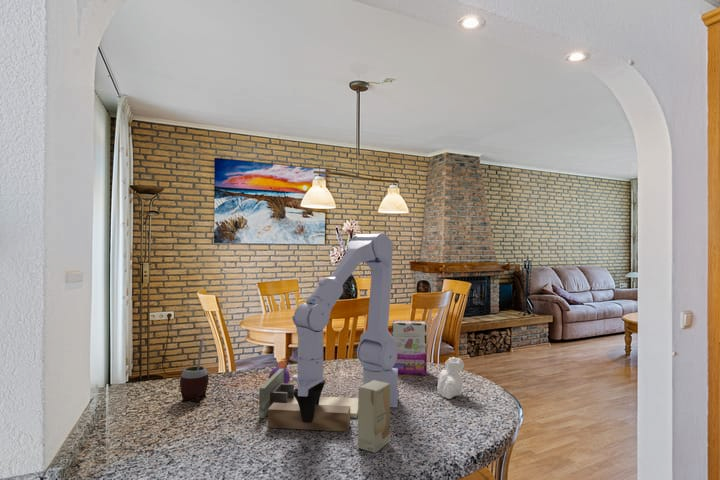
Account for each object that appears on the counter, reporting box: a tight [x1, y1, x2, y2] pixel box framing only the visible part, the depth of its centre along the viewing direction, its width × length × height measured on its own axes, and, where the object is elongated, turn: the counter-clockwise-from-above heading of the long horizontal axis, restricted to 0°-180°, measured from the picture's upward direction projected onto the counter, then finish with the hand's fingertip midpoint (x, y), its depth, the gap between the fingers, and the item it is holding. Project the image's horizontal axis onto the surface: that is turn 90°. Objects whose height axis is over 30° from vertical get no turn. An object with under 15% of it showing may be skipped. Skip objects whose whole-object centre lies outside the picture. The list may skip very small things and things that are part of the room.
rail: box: [267, 403, 351, 433], centre depth 94 cm, size 18×4×4 cm, turn 84°
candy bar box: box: [391, 320, 428, 376], centre depth 135 cm, size 11×5×16 cm, turn 81°
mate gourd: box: [179, 337, 210, 404], centre depth 110 cm, size 8×8×15 cm
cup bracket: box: [258, 369, 358, 419], centre depth 105 cm, size 23×16×7 cm
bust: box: [436, 356, 465, 400], centre depth 115 cm, size 12×8×11 cm
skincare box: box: [357, 380, 391, 453], centre depth 85 cm, size 6×4×12 cm
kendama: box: [268, 360, 291, 384], centre depth 126 cm, size 6×6×20 cm
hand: (309, 417), depth 94 cm, fingers closed on rail, 4 cm apart
